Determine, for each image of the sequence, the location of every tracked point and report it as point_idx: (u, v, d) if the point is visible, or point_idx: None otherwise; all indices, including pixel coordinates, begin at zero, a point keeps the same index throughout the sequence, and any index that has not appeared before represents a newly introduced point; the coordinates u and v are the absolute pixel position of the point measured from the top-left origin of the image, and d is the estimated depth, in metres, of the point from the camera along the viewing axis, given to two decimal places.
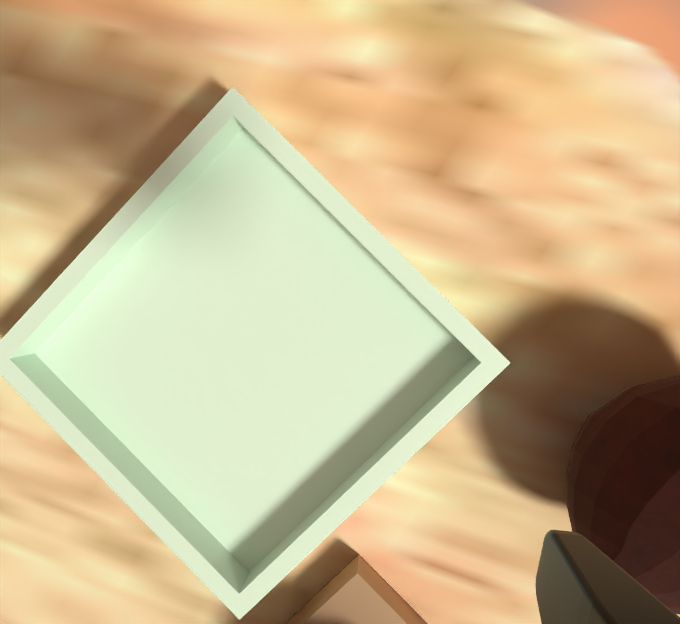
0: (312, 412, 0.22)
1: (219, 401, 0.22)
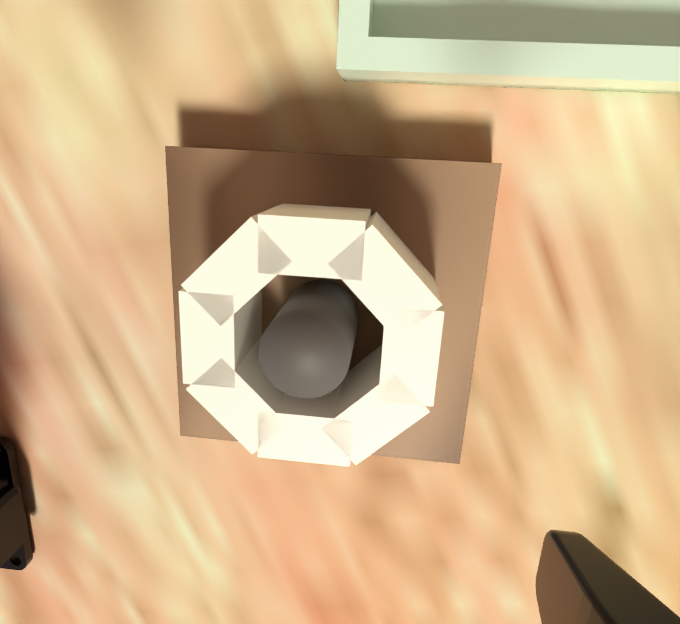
0: None
1: None
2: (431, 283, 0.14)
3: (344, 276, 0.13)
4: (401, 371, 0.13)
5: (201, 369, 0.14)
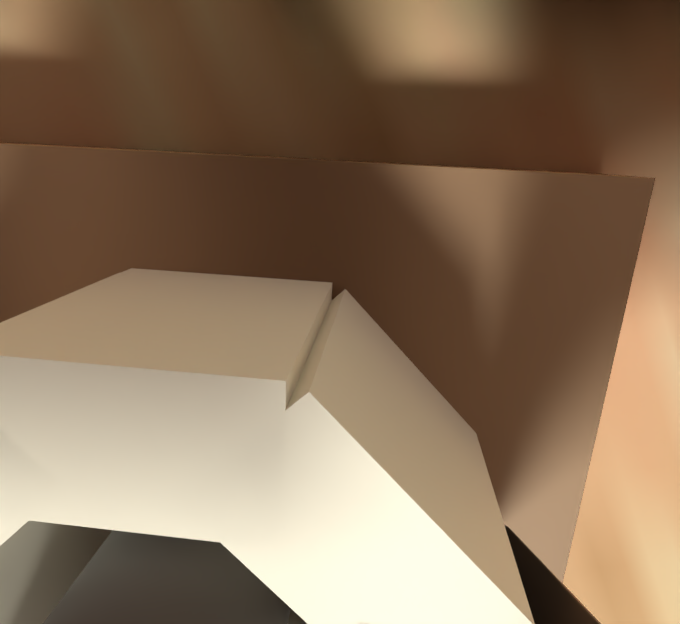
0: None
1: None
2: (483, 493, 0.05)
3: (229, 533, 0.04)
4: None
5: None
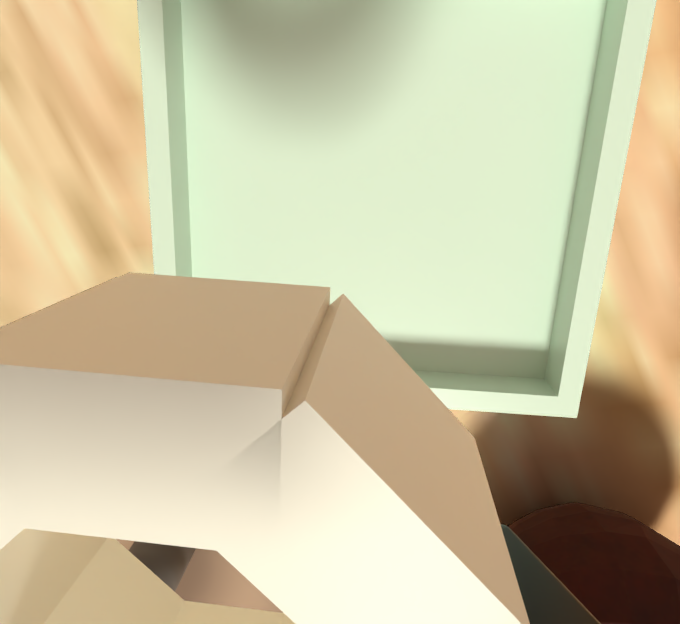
0: (378, 291, 0.19)
1: (312, 202, 0.19)
2: (481, 499, 0.05)
3: (226, 541, 0.04)
4: None
5: None
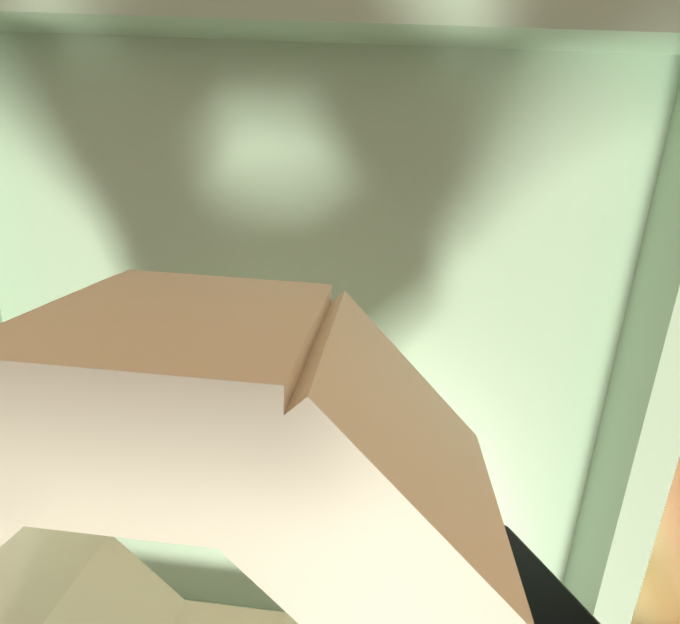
0: None
1: None
2: (484, 498, 0.05)
3: (227, 540, 0.04)
4: None
5: None
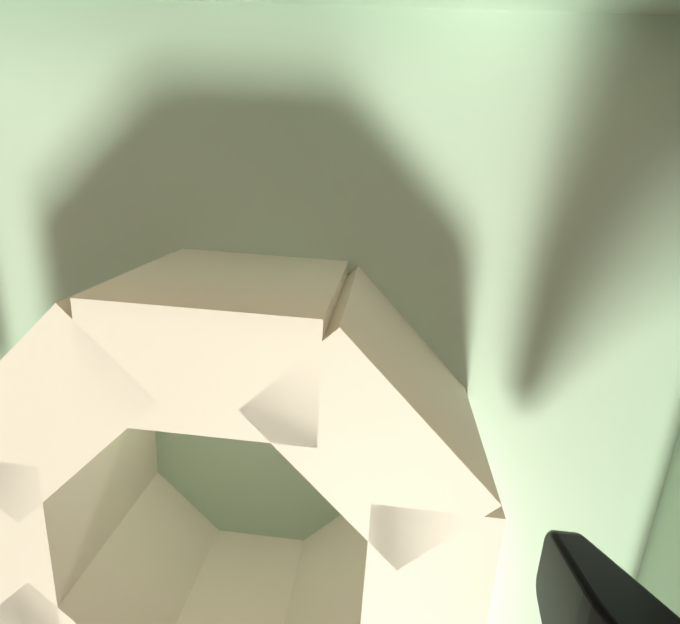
0: None
1: None
2: (467, 423, 0.07)
3: (277, 437, 0.06)
4: None
5: None
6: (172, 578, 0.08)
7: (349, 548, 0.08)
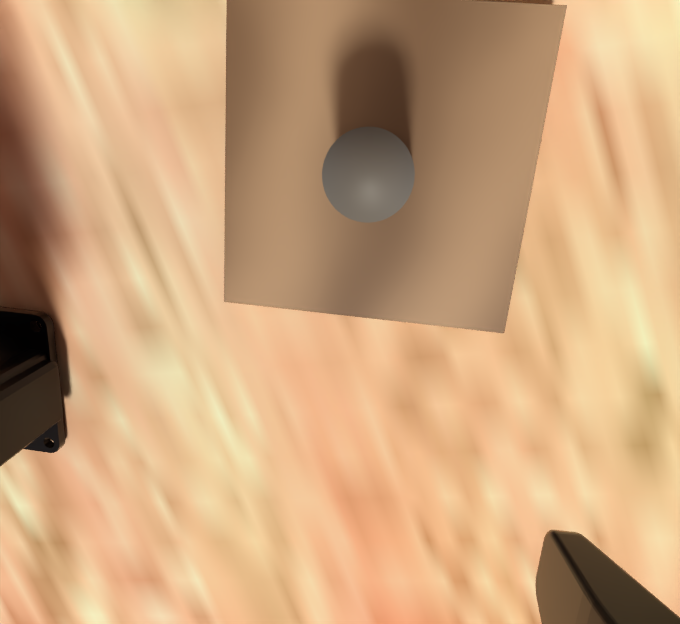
0: None
1: None
2: None
3: None
4: None
5: None
6: None
7: None
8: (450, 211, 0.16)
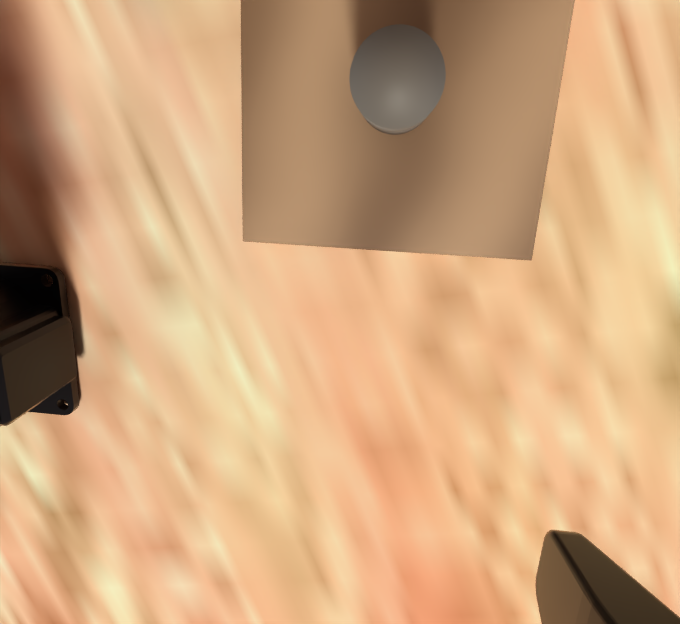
0: None
1: None
2: None
3: None
4: None
5: None
6: None
7: None
8: (474, 133, 0.16)
